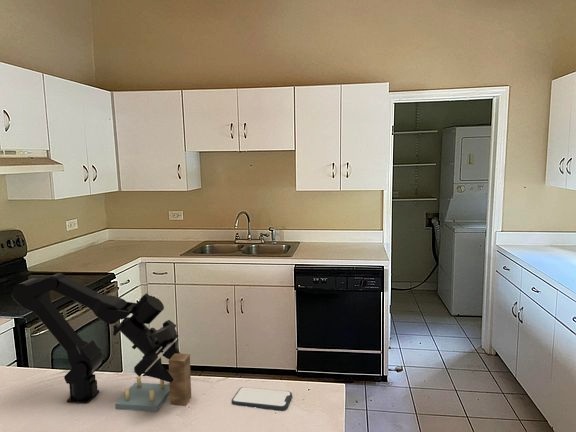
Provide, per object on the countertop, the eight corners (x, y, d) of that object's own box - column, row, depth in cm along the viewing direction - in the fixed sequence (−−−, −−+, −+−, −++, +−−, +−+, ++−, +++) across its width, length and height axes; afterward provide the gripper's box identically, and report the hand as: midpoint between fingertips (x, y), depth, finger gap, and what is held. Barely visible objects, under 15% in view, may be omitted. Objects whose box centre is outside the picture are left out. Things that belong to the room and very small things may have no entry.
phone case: (230, 406, 123) (285, 412, 119) (230, 401, 123) (285, 407, 119) (241, 391, 131) (293, 396, 127) (240, 386, 131) (292, 391, 127)
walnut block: (170, 404, 123) (168, 360, 121) (176, 396, 127) (174, 353, 126) (185, 405, 122) (184, 361, 121) (191, 397, 127) (189, 354, 125)
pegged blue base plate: (115, 409, 121) (114, 393, 120) (135, 387, 133) (134, 373, 132) (157, 411, 119) (156, 395, 119) (173, 389, 131) (173, 375, 131)
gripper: (142, 327, 113) (185, 370, 113) (170, 305, 132) (207, 341, 132) (115, 355, 115) (158, 397, 115) (147, 329, 134) (183, 365, 134)
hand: (178, 373), depth 124 cm, fingers open, 9 cm apart
